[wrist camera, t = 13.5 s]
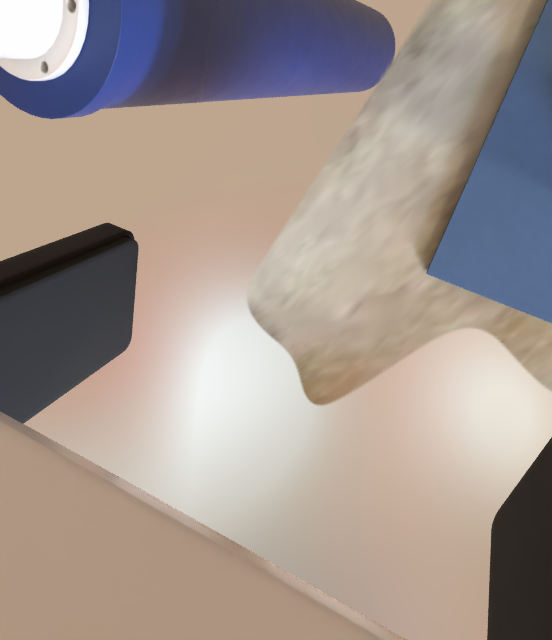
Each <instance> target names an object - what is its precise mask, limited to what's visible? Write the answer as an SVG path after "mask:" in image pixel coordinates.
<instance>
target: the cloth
mask: <svg viewBox="0 0 552 640" xmlns="http://www.w3.org/2000/svg"><path fill="white" fill-rule="evenodd" d="M426 274H428V275H431V276H433V277H436V278H438V279H441V280H443V281H446V282H449V283H451V284H454V285H456V286H459V287H461V288H464V289H466V290H469V291H471V292H474V293H477V294H479V295H482V296H484V297H487V298H489V299H492V300H494V301H497V302H499V303H502V304H505V305H507V306H510V307H512V308H515V309H517V310H520V311H522V312H525V313H527V314H530V315H532V316H535V317H538V318H540V319H543V320H545V321H548V322H550V323H552V0H547V3H546V5H545V7H544V9H543V12H542V14H541V16H540V18H539V21H538V23H537V25H536V27H535V30H534V32H533V34H532V36H531V39H530V41H529V43H528V45H527V48H526V50H525V52H524V54H523V57H522V59H521V61H520V63H519V66H518V68H517V70H516V72H515V75H514V77H513V79H512V81H511V84H510V86H509V88H508V90H507V93H506V95H505V97H504V99H503V102H502V104H501V106H500V108H499V111H498V113H497V115H496V117H495V120H494V122H493V124H492V127H491V129H490V131H489V133H488V136H487V138H486V140H485V142H484V145H483V147H482V149H481V151H480V154H479V156H478V158H477V160H476V163H475V165H474V167H473V169H472V172H471V174H470V176H469V178H468V181H467V183H466V185H465V187H464V190H463V192H462V194H461V196H460V199H459V201H458V203H457V205H456V208H455V210H454V212H453V214H452V217H451V219H450V221H449V223H448V226H447V228H446V230H445V232H444V235H443V237H442V239H441V241H440V244H439V246H438V248H437V250H436V253H435V255H434V257H433V259H432V262H431V264H430V266H429V268H428V271H427V273H426Z"/></svg>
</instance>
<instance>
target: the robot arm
mask: <svg viewBox="0 0 552 640" xmlns="http://www.w3.org/2000/svg"><path fill="white" fill-rule="evenodd" d="M88 15H89V0H0V66H1V67H2V68H3V69H5V70H6V71H7V72H8V73H10V74H12V75H14V76H16V77H18V78H20V79H25V80H29V81H46V80H51V79H55V78H57V77H59V76H60V75H62V74H64V73H65V72H66V71H67V70H68V69H69V68H70V67H71V66H72V65H73V63H74V62H75V60H76V58H77V57H78V55H79V54H80V51H81V48H82V46H83V43H84V40H85V36H86V31H87V26H88ZM137 260H138V244H137V242H136V241H135V240H134V236H133V234H132V233H131V232H130V231H127V230H125V229H122V228H120V227H117V226H115V225H113V224H110V223H104V224H101V225H99V226H96V227H93V228H90V229H88V230H85V231H82V232H80V233H77V234H74V235H72V236H69V237H66V238H63V239H60V240H58V241H55V242H52V243H49V244H47V245H44V246H41V247H38V248H36V249H33V250H30V251H28V252H25V253H22V254H19V255H17V256H14V257H11V258H8V259H6V260H3V261H0V640H406V639H404V638H402V637H401V636H399V635H397V634H396V633H394V632H392V631H391V630H389V629H387V628H385V627H384V626H382V625H380V624H378V623H377V622H375V621H373V620H371V619H369V618H368V617H366V616H364V615H362V614H360V613H359V612H357V611H355V610H354V609H352V608H350V607H348V606H347V605H345V604H343V603H341V602H340V601H338V600H336V599H334V598H332V597H331V596H329V595H327V594H325V593H324V592H322V591H320V590H318V589H317V588H315V587H313V586H311V585H310V584H308V583H306V582H304V581H303V580H301V579H299V578H297V577H295V576H294V575H292V574H290V573H288V572H287V571H285V570H283V569H281V568H280V567H278V566H276V565H274V564H273V563H271V562H269V561H267V560H265V559H264V558H262V557H260V556H258V555H257V554H255V553H253V552H251V551H250V550H248V549H246V548H244V547H243V546H241V545H239V544H237V543H235V542H234V541H232V540H230V539H228V538H226V537H225V536H223V535H221V534H219V533H218V532H216V531H214V530H212V529H210V528H209V527H207V526H205V525H203V524H201V523H200V522H198V521H196V520H195V519H193V518H191V517H189V516H187V515H186V514H184V513H182V512H180V511H178V510H177V509H175V508H173V507H171V506H170V505H168V504H166V503H164V502H162V501H160V500H159V499H157V498H155V497H153V496H152V495H150V494H148V493H146V492H145V491H143V490H141V489H139V488H137V487H136V486H134V485H132V484H130V483H128V482H127V481H125V480H123V479H121V478H120V477H118V476H116V475H114V474H112V473H110V472H109V471H107V470H105V469H103V468H101V467H100V466H98V465H96V464H94V463H93V462H91V461H89V460H87V459H85V458H84V457H82V456H80V455H78V454H76V453H75V452H73V451H71V450H69V449H67V448H66V447H64V446H62V445H60V444H58V443H57V442H55V441H53V440H51V439H49V438H48V437H46V436H44V435H42V434H40V433H38V432H37V431H35V430H33V429H31V428H29V427H28V426H26V425H24V424H23V423H25V422H26V421H28V420H29V419H30V418H32V417H33V416H34V415H36V414H37V413H39V412H40V411H42V410H43V409H44V408H46V407H47V406H48V405H50V404H51V403H53V402H54V401H55V400H57V399H58V398H59V397H61V396H62V395H64V394H65V393H67V392H68V391H69V390H71V389H72V388H74V387H75V386H76V385H78V384H79V383H81V382H82V381H83V380H85V379H86V378H87V377H89V376H90V375H92V374H93V373H94V372H96V371H97V370H99V369H100V368H101V367H103V366H104V365H106V364H107V363H108V362H110V361H111V360H113V359H114V358H115V357H117V356H118V355H120V354H121V353H122V352H123V351H125V350H126V349H127V347H128V345H129V344H130V341H131V336H132V324H133V312H134V299H135V286H136V272H137ZM487 640H552V438H551V439H550V440H549V442H548V443H547V444H546V446H545V447H544V449H543V450H542V451H541V453H540V454H539V455H538V457H537V458H536V460H535V461H534V462H533V464H532V465H531V467H530V468H529V469H528V471H527V472H526V473H525V475H524V476H523V477H522V479H521V480H520V482H519V483H518V485H517V486H516V487H515V488H514V490H513V491H512V493H511V494H510V495H509V497H508V498H507V499H506V501H505V502H504V504H503V505H502V506H501V508H500V509H499V510H498V512H497V514H496V516H495V518H494V521H493V524H492V530H491V557H490V583H489V609H488V636H487Z"/></svg>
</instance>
